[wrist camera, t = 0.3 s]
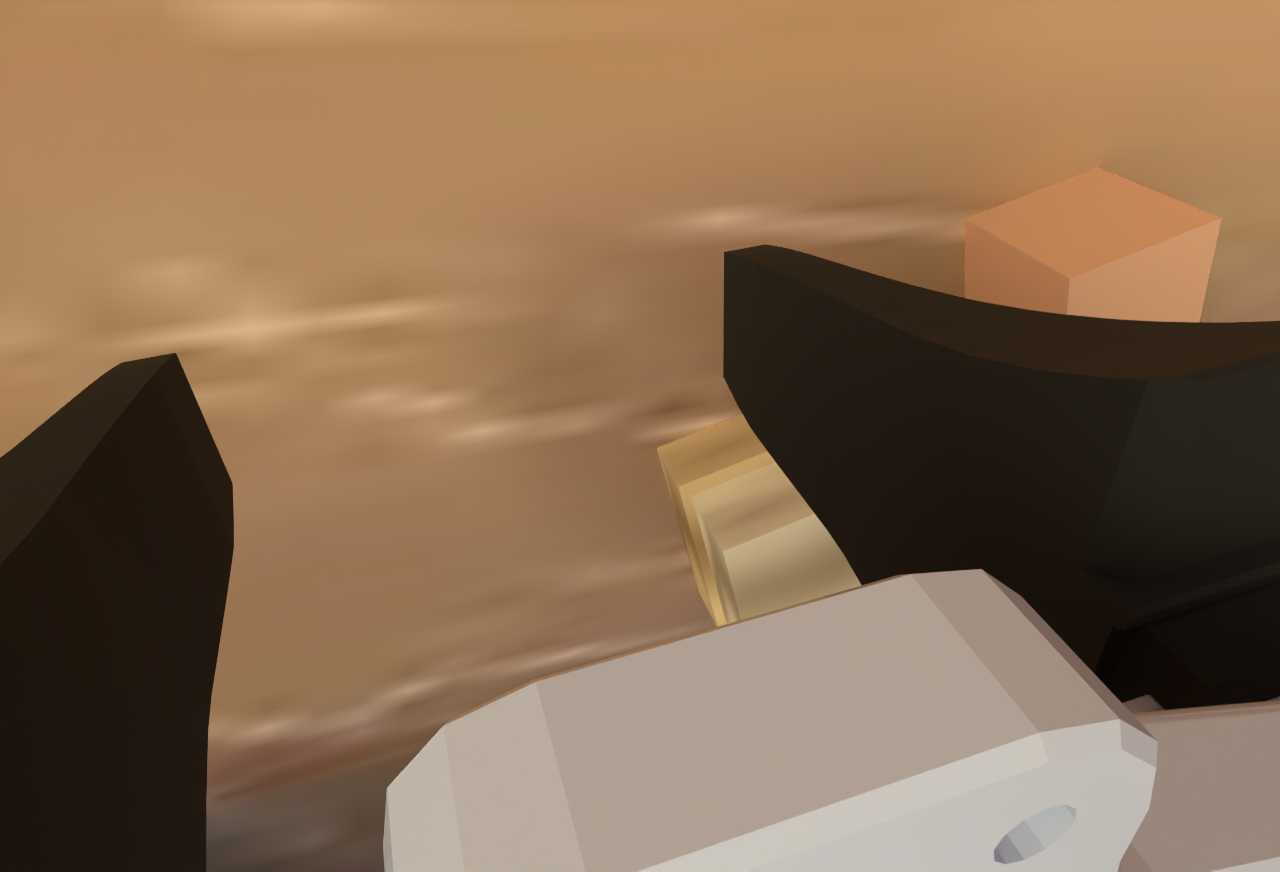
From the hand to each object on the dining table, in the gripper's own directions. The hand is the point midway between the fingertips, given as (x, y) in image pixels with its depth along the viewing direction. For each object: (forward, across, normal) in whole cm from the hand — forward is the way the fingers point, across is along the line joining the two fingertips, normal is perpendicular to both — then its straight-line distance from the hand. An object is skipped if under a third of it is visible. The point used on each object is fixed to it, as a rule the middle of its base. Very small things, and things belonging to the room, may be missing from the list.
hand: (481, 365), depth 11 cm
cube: (+10, -18, +6) cm, 21 cm away
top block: (+8, -9, +13) cm, 18 cm away
